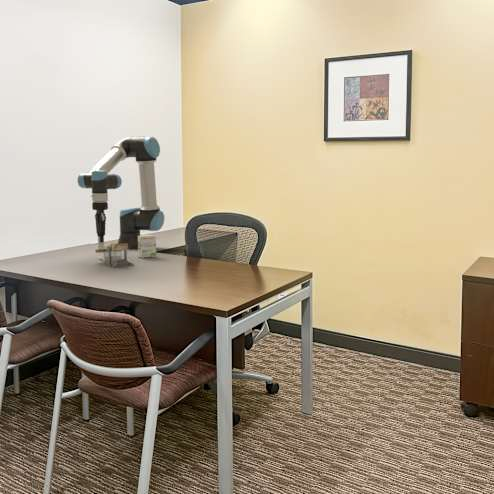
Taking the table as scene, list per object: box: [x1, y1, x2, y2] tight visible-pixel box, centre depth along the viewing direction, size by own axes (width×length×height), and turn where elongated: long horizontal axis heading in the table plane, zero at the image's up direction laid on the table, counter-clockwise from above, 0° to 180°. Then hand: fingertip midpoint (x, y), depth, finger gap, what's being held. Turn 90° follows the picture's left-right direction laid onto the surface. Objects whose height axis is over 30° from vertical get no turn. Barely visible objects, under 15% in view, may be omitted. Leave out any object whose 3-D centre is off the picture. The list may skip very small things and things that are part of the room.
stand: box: [102, 247, 135, 269], centre depth 279 cm, size 17×11×8 cm, turn 28°
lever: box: [95, 243, 129, 254], centre depth 279 cm, size 18×12×3 cm, turn 28°
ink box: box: [137, 234, 157, 258], centre depth 299 cm, size 9×5×12 cm, turn 122°
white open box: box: [98, 245, 123, 262], centre depth 293 cm, size 9×10×6 cm
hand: (101, 248), depth 283 cm, fingers closed
